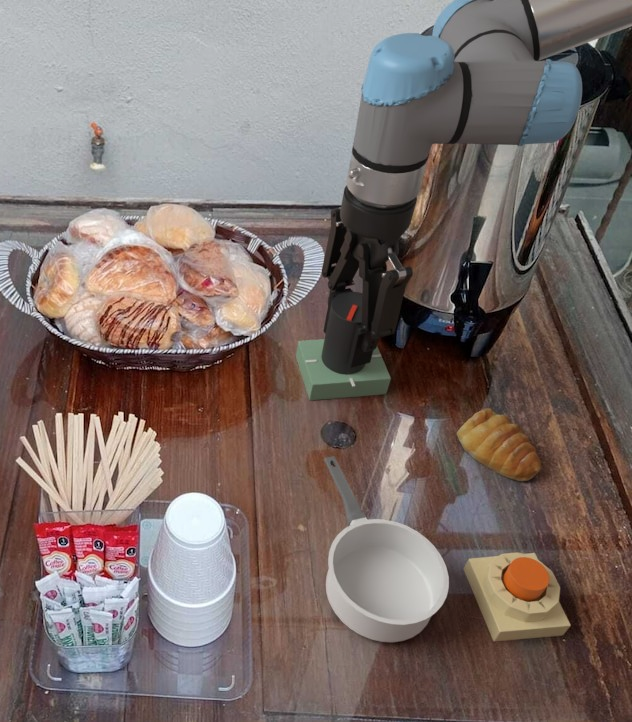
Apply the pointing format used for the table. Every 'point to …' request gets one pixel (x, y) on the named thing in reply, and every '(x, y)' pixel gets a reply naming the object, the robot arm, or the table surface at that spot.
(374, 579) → the saucepan
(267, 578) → the table surface
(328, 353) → the timer knob
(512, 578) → the button
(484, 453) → the pastry
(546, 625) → the block
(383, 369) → the panel
